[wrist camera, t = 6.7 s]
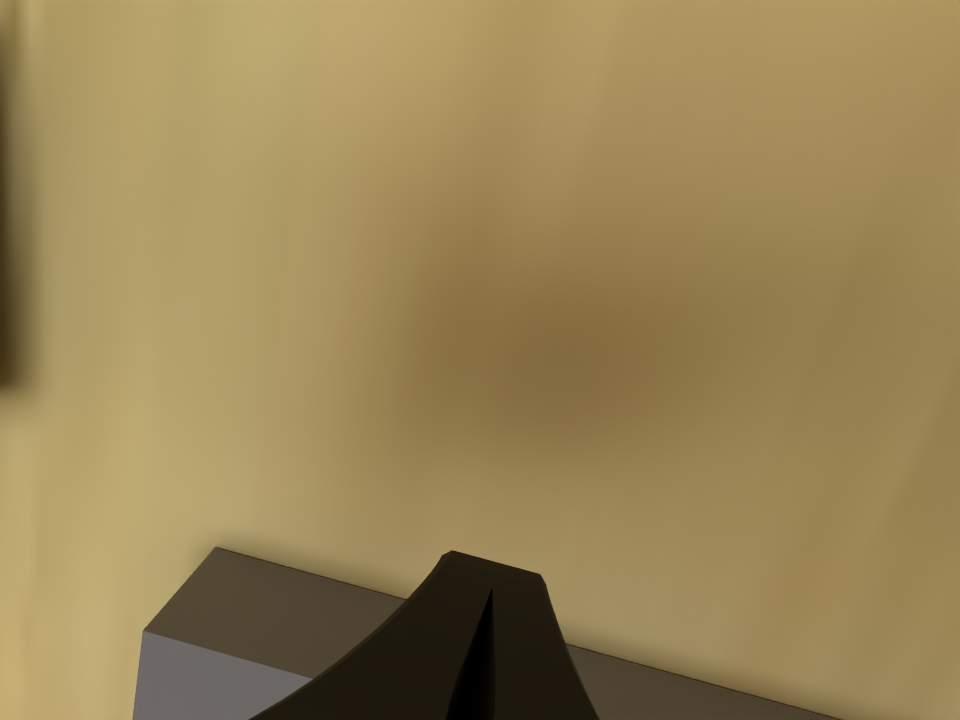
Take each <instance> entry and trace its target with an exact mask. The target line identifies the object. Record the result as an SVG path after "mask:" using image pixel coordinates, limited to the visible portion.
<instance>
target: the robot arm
mask: <svg viewBox="0 0 960 720" xmlns="http://www.w3.org/2000/svg"><path fill="white" fill-rule="evenodd" d="M248 720H600V719H599V717H598V715H597V713H596V711H595V709H594V707H593V705H592V703H591V701H590V698H589V696H588V694H587V692H586V690H585V688H584V686H583V683H582V681H581V679H580V676H579V674H578V672H577V670H576V667H575V665H574V663H573V660H572V658H571V656H570V654H569V651H568V649H567V646H566V643H565V641H564V638H563V636H562V633H561V630H560V627H559V625H558V622H557V619H556V616H555V613H554V610H553V607H552V604H551V601H550V598H549V594H548V591H547V587H546V583H545V582H544V580H543V578H542V576H541V575H540V574H538V573H534V572H530V571H527V570H523V569H519V568H516V567H512V566H508V565H505V564H501V563H497V562H493V561H490V560H486V559H482V558H479V557H475V556H471V555H468V554H464V553H460V552H457V551H453V550H452V551H450V552H448V553H446V554H444V555H442V556H441V558H440V560H439V562H438V563H437V565H436V566H435V567H434V569H433V570H432V571H431V573H430V574H429V575H428V576H427V578H426V579H425V580H424V581H423V582H422V584H421V585H420V586H419V587H418V588H417V589H416V590H415V591H414V592H413V593H412V595H411V596H410V597H409V598H408V599H407V600H406V601H405V602H404V603H403V604H402V605H401V606H400V607H399V608H398V609H397V610H396V611H394V612H393V613H392V614H391V615H390V616H389V617H388V618H387V619H386V620H385V621H384V622H383V623H382V624H381V625H380V626H379V627H378V628H377V629H376V630H374V631H373V632H372V633H371V634H370V635H368V636H367V637H366V638H365V639H364V640H362V641H361V642H360V643H359V644H358V645H356V646H355V647H354V648H353V649H352V650H350V651H349V652H348V653H347V654H346V655H344V656H343V657H342V658H341V659H339V660H338V661H337V662H336V663H334V664H333V665H332V666H330V667H329V668H328V669H326V670H325V671H324V672H322V673H321V674H319V675H318V676H317V677H315V678H314V679H312V680H311V681H310V682H308V683H307V684H305V685H304V686H302V687H301V688H299V689H298V690H296V691H295V692H293V693H292V694H290V695H289V696H287V697H285V698H284V699H282V700H281V701H279V702H277V703H276V704H274V705H272V706H271V707H269V708H267V709H266V710H264V711H262V712H260V713H259V714H257V715H255V716H254V717H252V718H250V719H248Z"/></svg>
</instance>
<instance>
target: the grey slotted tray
mask: <svg viewBox="0 0 960 720" xmlns="http://www.w3.org/2000/svg"><path fill="white" fill-rule="evenodd" d="M405 601H406V600H404V599H400V598H396V597H393V596H389V595H385V594H382V593H378V592H375V591H371V590H367V589H364V588H360V587H357V586H353V585H349V584H346V583H342V582H338V581H335V580H331V579H328V578H324V577H320V576H317V575H313V574H309V573H306V572H302V571H299V570H295V569H291V568H288V567H284V566H280V565H277V564H273V563H270V562H266V561H262V560H259V559H255V558H251V557H248V556H244V555H241V554H237V553H233V552H230V551H226V550H222V549H219V548H214V549H213V551H212V552H211V553H210V554H209V555H208V556H207V558H206V559H205V560H204V561H203V562H202V563H201V564H200V566H199V567H198V568H197V569H196V570H195V571H194V572H193V574H192V575H191V576H190V577H189V578H188V579H187V581H186V582H185V583H184V584H183V585H182V586H181V587H180V589H179V590H178V591H177V592H176V593H175V594H174V596H173V597H172V598H171V599H170V600H169V601H168V602H167V604H166V605H165V606H164V607H163V608H162V609H161V611H160V612H159V613H158V614H157V615H156V616H155V617H154V619H153V620H152V621H151V622H150V623H149V624H148V626H147V627H146V628H145V629H144V630H143V634H142V643H141V652H140V660H139V669H138V677H137V686H136V694H135V703H134V711H133V720H248V719H250V718H252V717H254V716H255V715H257V714H259V713H260V712H262V711H264V710H266V709H267V708H269V707H271V706H272V705H274V704H276V703H277V702H279V701H281V700H282V699H284V698H285V697H287V696H289V695H290V694H292V693H293V692H295V691H296V690H298V689H299V688H301V687H302V686H304V685H305V684H307V683H308V682H310V681H311V680H312V679H314V678H315V677H317V676H318V675H319V674H321V673H322V672H324V671H325V670H326V669H328V668H329V667H330V666H332V665H333V664H334V663H336V662H337V661H338V660H339V659H341V658H342V657H343V656H344V655H346V654H347V653H348V652H349V651H350V650H352V649H353V648H354V647H355V646H356V645H358V644H359V643H360V642H361V641H362V640H364V639H365V638H366V637H367V636H368V635H370V634H371V633H372V632H373V631H374V630H376V629H377V628H378V627H379V626H380V625H381V624H382V623H383V622H384V621H385V620H386V619H387V618H388V617H389V616H390V615H391V614H392V613H393V612H394V611H396V610H397V609H398V608H399V607H400V606H401V605H402V604H403V603H404V602H405ZM566 646H567V649H568V651H569V654H570V656H571V658H572V660H573V663H574V665H575V667H576V670H577V672H578V674H579V676H580V679H581V681H582V683H583V686H584V688H585V690H586V692H587V694H588V696H589V698H590V701H591V703H592V705H593V707H594V709H595V711H596V713H597V715H598V717H599V719H600V720H838V719H835V718H831V717H827V716H824V715H820V714H817V713H813V712H809V711H806V710H802V709H798V708H795V707H791V706H788V705H784V704H780V703H777V702H773V701H769V700H766V699H762V698H759V697H755V696H751V695H748V694H744V693H740V692H737V691H733V690H730V689H726V688H722V687H719V686H715V685H711V684H708V683H704V682H701V681H697V680H693V679H690V678H686V677H682V676H679V675H675V674H672V673H668V672H664V671H661V670H657V669H654V668H650V667H646V666H643V665H639V664H635V663H632V662H628V661H625V660H621V659H617V658H614V657H610V656H606V655H603V654H599V653H596V652H592V651H588V650H585V649H581V648H577V647H574V646H570V645H567V644H566Z"/></svg>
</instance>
